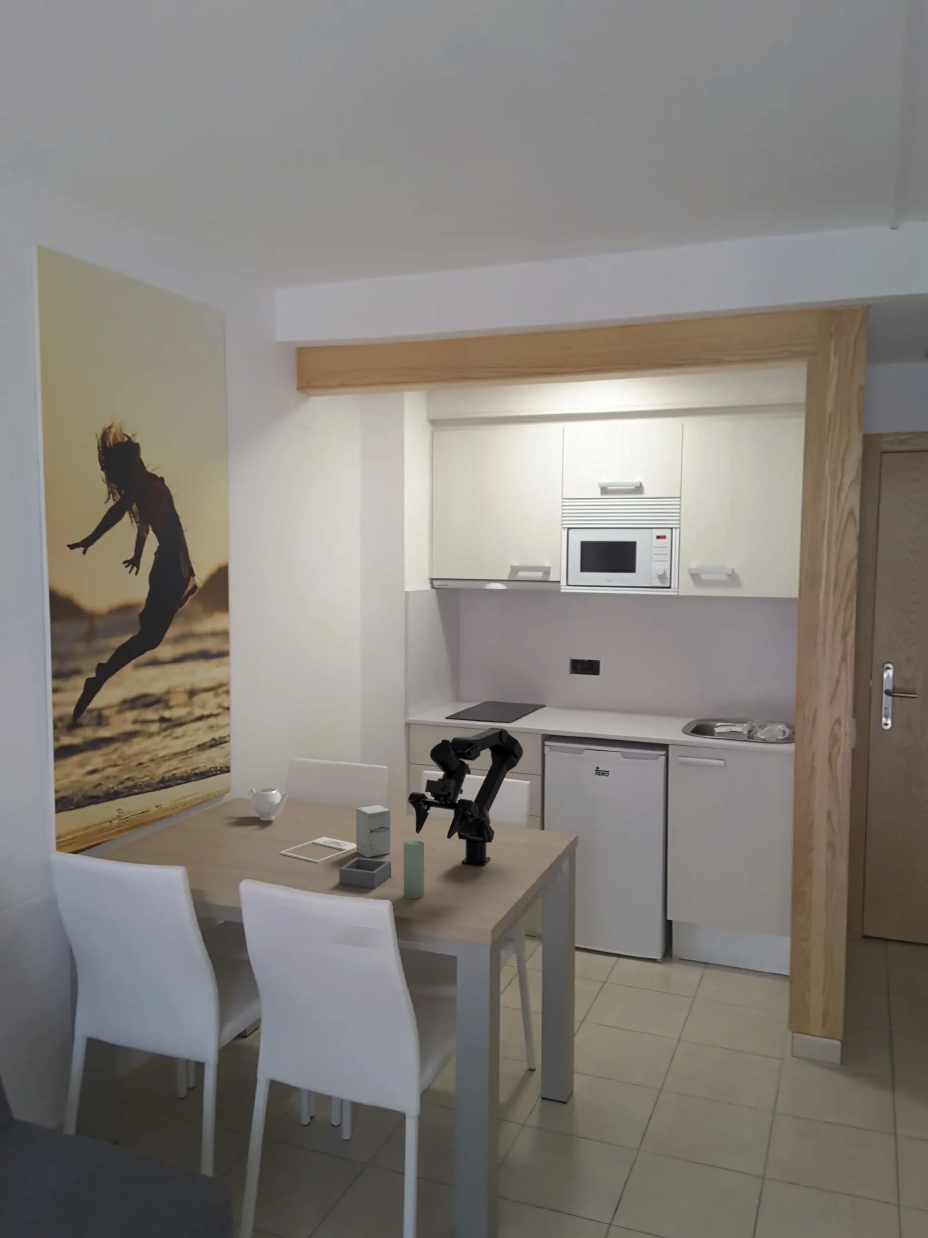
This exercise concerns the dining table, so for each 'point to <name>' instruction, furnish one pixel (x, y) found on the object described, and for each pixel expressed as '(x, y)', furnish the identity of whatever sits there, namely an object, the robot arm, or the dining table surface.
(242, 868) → the dining table surface
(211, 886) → the dining table surface
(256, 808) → the teapot
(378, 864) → the gray square tray
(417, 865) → the sage peg
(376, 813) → the supplement box
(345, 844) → the photo frame
